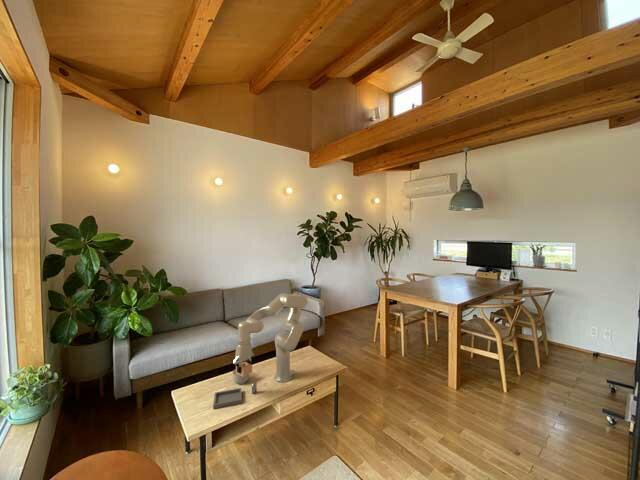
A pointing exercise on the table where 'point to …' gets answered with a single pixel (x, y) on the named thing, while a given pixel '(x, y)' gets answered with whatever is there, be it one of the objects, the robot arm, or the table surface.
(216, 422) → the table surface
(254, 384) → the post
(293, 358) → the table surface
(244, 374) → the pink block with knob
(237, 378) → the teacup
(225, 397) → the tray
